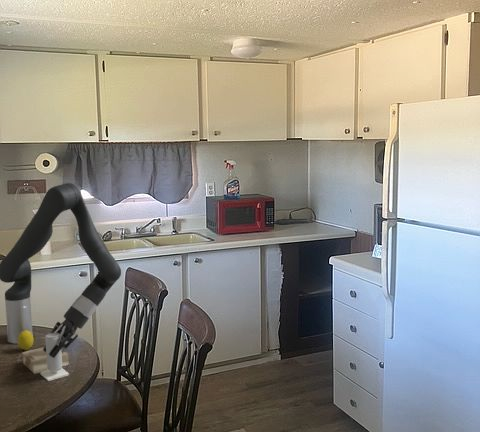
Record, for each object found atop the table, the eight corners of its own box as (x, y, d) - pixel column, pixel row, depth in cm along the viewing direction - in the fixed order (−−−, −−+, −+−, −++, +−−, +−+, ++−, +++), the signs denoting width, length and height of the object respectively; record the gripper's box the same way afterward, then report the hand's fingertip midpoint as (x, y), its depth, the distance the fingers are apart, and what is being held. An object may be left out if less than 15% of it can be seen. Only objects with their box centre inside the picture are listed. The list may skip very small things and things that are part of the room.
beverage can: (57, 372, 180) (55, 338, 178) (44, 371, 181) (42, 337, 179) (65, 366, 185) (63, 332, 183) (52, 365, 186) (50, 332, 184)
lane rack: (22, 363, 193) (22, 352, 192) (56, 354, 200) (55, 344, 200) (34, 373, 184) (33, 362, 183) (68, 364, 191) (68, 353, 191)
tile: (40, 374, 183) (40, 372, 183) (60, 368, 188) (60, 367, 188) (48, 381, 178) (48, 379, 178) (68, 375, 183) (68, 373, 182)
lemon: (15, 352, 203) (13, 331, 202) (26, 346, 208) (24, 326, 207) (26, 354, 201) (25, 333, 200) (37, 348, 206) (36, 328, 205)
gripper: (64, 301, 190) (32, 342, 184) (81, 310, 179) (47, 354, 173) (79, 312, 194) (48, 353, 188) (97, 322, 183) (64, 366, 177)
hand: (48, 353), depth 181 cm, fingers closed on beverage can, 4 cm apart
